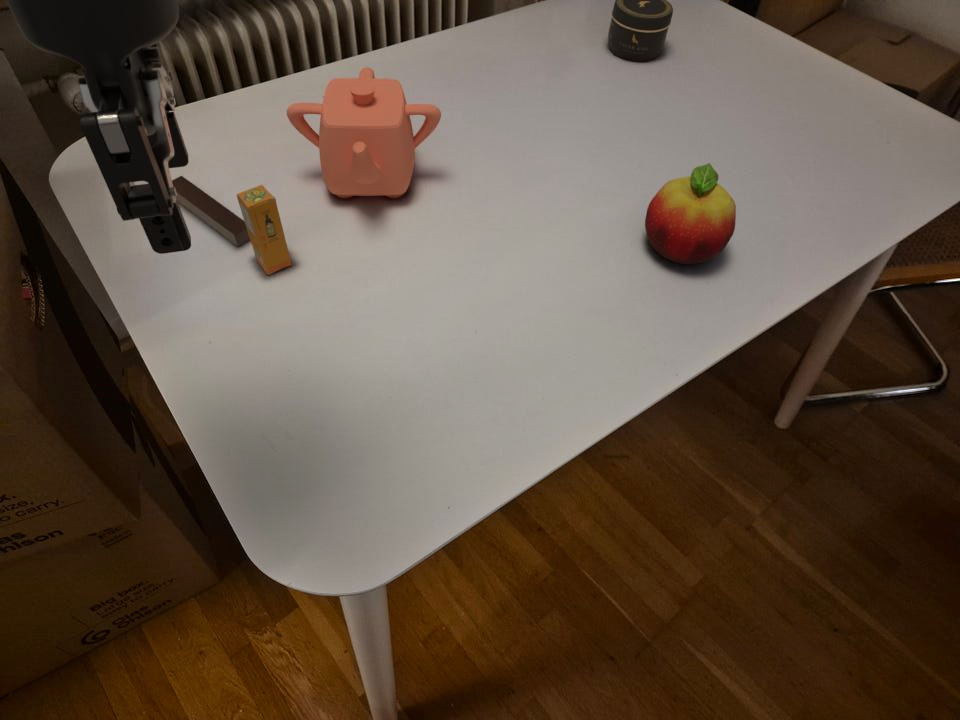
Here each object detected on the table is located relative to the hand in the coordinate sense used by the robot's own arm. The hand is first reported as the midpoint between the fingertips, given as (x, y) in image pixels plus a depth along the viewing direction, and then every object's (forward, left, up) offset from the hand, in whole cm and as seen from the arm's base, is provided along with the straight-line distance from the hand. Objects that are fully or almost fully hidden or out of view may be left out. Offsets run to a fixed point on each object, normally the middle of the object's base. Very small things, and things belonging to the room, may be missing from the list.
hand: (173, 204), depth 43 cm
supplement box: (+16, +18, -28) cm, 37 cm away
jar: (+93, +15, -28) cm, 98 cm away
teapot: (+35, +21, -28) cm, 50 cm away
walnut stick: (+16, +30, -28) cm, 44 cm away
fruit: (+53, -17, -28) cm, 62 cm away
